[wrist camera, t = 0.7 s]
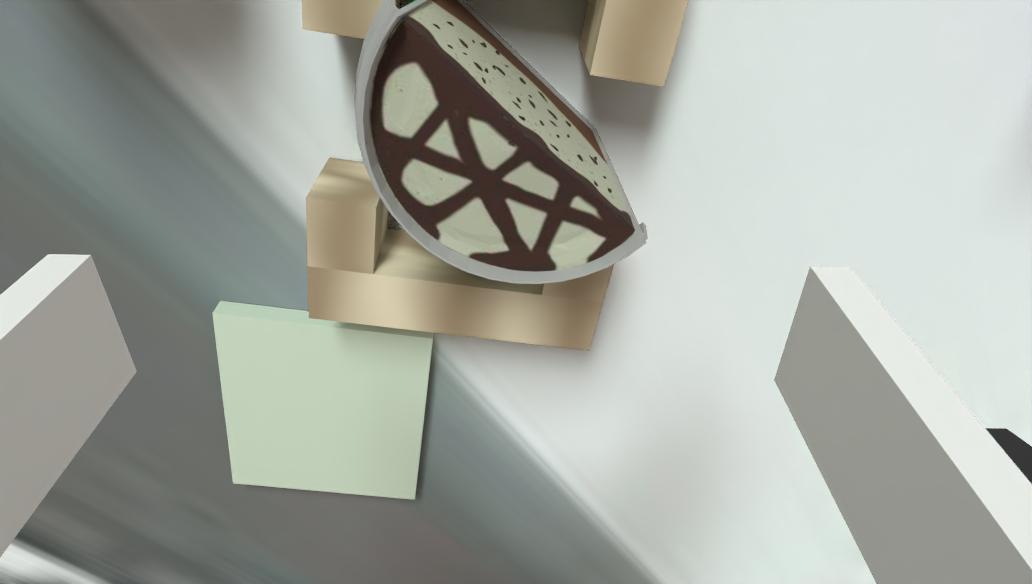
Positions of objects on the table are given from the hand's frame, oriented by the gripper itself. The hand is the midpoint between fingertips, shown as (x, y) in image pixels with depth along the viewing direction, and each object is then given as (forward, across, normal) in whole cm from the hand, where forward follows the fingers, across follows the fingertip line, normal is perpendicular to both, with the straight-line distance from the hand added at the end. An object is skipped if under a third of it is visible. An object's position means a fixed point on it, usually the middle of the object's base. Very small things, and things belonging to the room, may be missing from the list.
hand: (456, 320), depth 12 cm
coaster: (+20, -10, -21) cm, 31 cm away
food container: (+20, 0, -2) cm, 21 cm away
